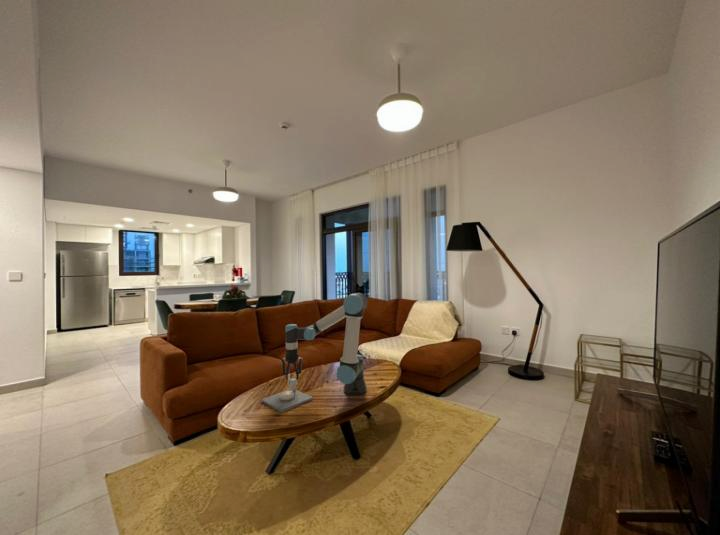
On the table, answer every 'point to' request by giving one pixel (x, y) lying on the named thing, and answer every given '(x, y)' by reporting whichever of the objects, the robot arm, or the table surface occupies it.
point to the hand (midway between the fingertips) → (292, 384)
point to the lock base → (282, 405)
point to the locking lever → (289, 394)
